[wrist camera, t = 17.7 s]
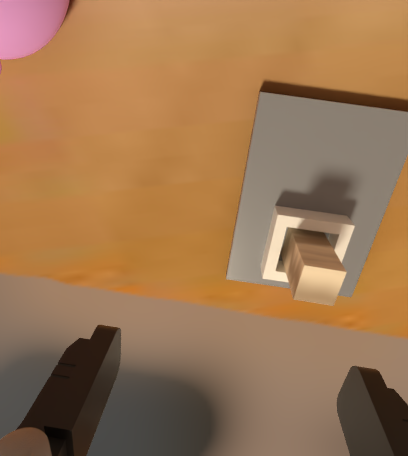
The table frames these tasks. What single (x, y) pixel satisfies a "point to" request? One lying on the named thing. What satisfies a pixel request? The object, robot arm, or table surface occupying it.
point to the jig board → (315, 182)
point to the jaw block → (312, 266)
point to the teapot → (28, 25)
